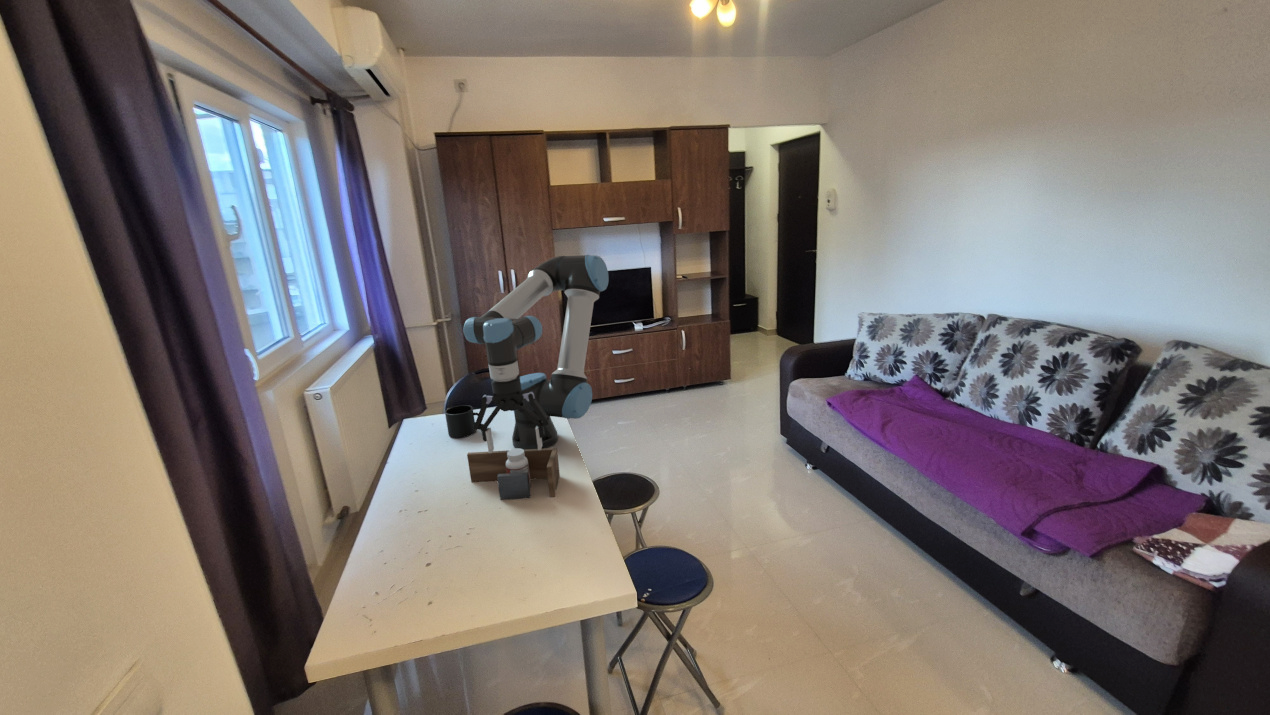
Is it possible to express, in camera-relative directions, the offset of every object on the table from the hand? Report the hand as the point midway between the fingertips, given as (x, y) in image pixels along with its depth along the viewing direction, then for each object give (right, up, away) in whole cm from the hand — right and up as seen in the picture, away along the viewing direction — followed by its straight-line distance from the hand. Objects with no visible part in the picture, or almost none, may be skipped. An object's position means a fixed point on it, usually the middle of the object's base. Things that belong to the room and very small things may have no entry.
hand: (515, 449), depth 144 cm
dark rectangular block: (0, -13, -2) cm, 13 cm away
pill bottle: (+1, -11, +3) cm, 12 cm away
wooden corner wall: (-2, -11, +3) cm, 12 cm away
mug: (-28, -2, +43) cm, 52 cm away
